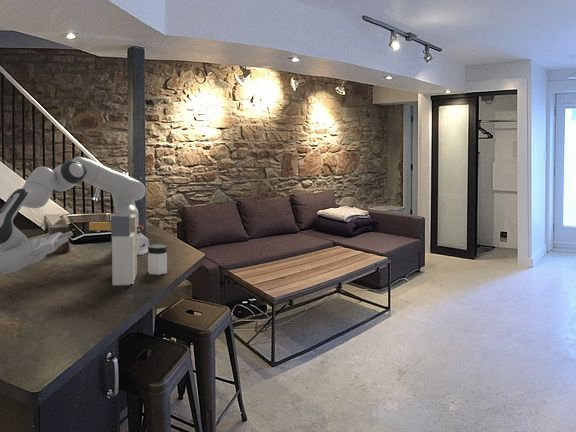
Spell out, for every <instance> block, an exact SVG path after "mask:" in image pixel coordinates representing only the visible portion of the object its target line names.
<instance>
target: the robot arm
mask: <svg viewBox="0 0 576 432" xmlns="http://www.w3.org/2000/svg"><path fill="white" fill-rule="evenodd" d="M81 182H84V183H85V184H89V185H91V186H93V187H95V188H97V189H99V190H102V191H105V192H108V193H109V194H111V196H112V201H113V205H114V210H115V214H135V215H137V256H144V255H145V254H148V246H150V241H149V239H148V237H146V236H145V235H144V234H143V233H142V231H143V230H144V229H145V228H144V226H143V225H139V209H138V208H137V206H136V201H140V200H141V199H143V198H144V197H145V195H146V191H147V190H146V186H145V184H143V182H141V181H140V180H139V179H136V178H134V177H131V176H129V175H126V174H124V173H121V172H119V171H116V170H114V169H112V168H109V167H107V166H105V165H104V164H101V163H99V162H97V161H95V160H93V159H90V158H87V157H83V156H76V157H74V158H72V160H68V161H65V162H63V163H62V164H59V165H58V166H56V167H55V168H53V169H51V168H49V167H47V166H38V167H35V169H33V170H32V172H31V173H30V174H29V176H28V178H27V179H26V180H25V183H24V185H23V186H22V188H18V189H16V190H14V191H13V192H12V193H11V194H10V195H9V197H8V198H7V199H6V201H5V203H3V205H2V207H1V208H0V274H1V275H8V274H10V273H13V272H16V271H19V270H22V269H23V268H25V267H26V266H29V265H33V264H36V263H39V262H40V261H42V260H44V259H46V256H47V255H50V254H52V252H54V251H55V250H56V249H57V248H58V247H59V246H60V245H62V244H63V243H65V242H68V240H69V241H70V238H71V237H73V236H74V235H73V234H74V233H73V232H72V230H71V231H70V230H69V232H68V233H64V234H62V233H61V232H58V233H55V234H52V235H49V234H48V235H46V236H43V237H42V236H39V237H37V238H32V239H30V240H29V239H28V237H27V236H26V235H25V234H24V233H23V232H22V231H21V230H20V229H19V228H17V227H16V225H14V219H15V217H16V215H18V213H19V211H20V210H21V209H22V207H24V208H28V209H40V208H42V207H44V206H45V205H46V204H47V203H48V202H49V200H50V198H51V195H52V193H54V194H61V193H65V191H68V190H70V189H72V188H74V186H76V185H78V184H79V183H81ZM141 230H142V231H141ZM68 237H69V239H68Z"/></svg>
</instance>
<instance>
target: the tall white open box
mask: <svg viewBox="0 0 576 432" xmlns="http://www.w3.org/2000/svg"><path fill="white" fill-rule="evenodd" d="M111 260H112V261H111V262H112V264H111V268H112V269H111V271H112V272H111V273H112V275H111V276H112V278H111V279H112V281H111V282H112V286H131V285H130V284H133V285H134V283H135V281H134V280H136V277H135V232H131V234H130V236H111Z"/></svg>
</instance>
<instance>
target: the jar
mask: <svg viewBox="0 0 576 432" xmlns="http://www.w3.org/2000/svg"><path fill="white" fill-rule="evenodd" d="M147 271H148V274H149V275H154V276H155V275H157V276H160V275H165V274H167V273H168V246H167V245H165V244H151V245H150V244H149V246H148V252H147Z"/></svg>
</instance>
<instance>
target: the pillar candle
mask: <svg viewBox="0 0 576 432" xmlns="http://www.w3.org/2000/svg"><path fill="white" fill-rule="evenodd" d="M47 230H48V236H49V235H52V234H55V233H58V232H61V233H62V234H64V233H68V232H70V225H69V224H61V223H58V224H51V225H48V228H47ZM68 239H69V240H68V242H65V243H63V244H62V245H60V246H59V247H58V248H57V249H56V250H55V251H54V252H52V253H51V254H57V255H58V254H67V253H70V252H71V250H70V249H71V246H70V245H71V244H70V242H71V241H70V237H68Z"/></svg>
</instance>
